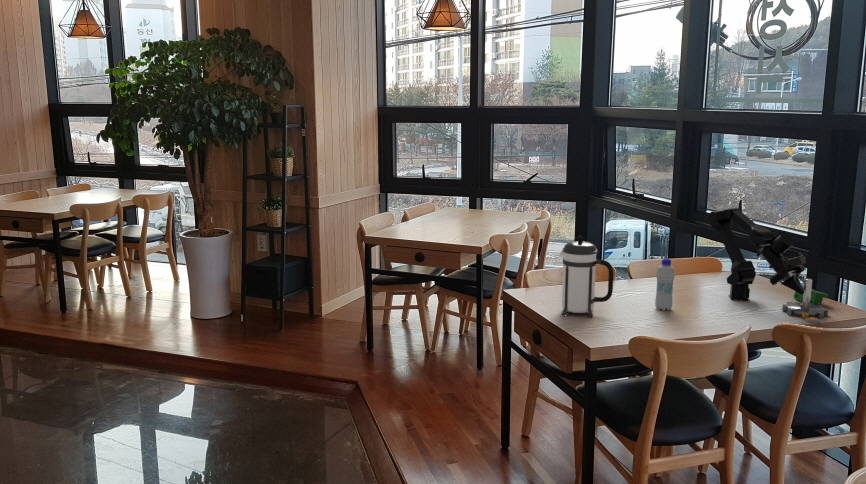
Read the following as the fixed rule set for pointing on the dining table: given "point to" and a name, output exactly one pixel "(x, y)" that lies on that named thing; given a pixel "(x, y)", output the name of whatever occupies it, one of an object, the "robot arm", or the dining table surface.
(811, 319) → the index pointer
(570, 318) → the dining table surface
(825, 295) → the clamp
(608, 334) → the dining table surface
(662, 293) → the bottle
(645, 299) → the dining table surface
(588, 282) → the coffee press
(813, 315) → the sprocket
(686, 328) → the dining table surface
